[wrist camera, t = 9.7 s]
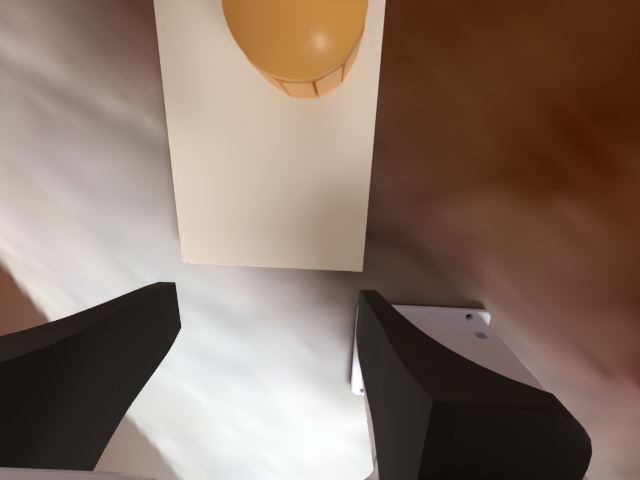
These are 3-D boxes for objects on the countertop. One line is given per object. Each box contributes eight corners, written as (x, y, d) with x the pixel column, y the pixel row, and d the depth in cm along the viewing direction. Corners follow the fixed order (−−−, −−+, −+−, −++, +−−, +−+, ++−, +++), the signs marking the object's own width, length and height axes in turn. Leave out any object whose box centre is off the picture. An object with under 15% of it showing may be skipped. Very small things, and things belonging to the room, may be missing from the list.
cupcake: (361, -21, 15) (376, -101, 10) (354, 99, 16) (363, 80, 12) (252, -23, 15) (215, -104, 10) (255, 96, 17) (225, 75, 12)
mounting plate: (386, -56, 16) (410, -147, 11) (360, 263, 21) (368, 297, 16) (161, -61, 16) (88, -151, 11) (192, 255, 21) (151, 286, 16)
